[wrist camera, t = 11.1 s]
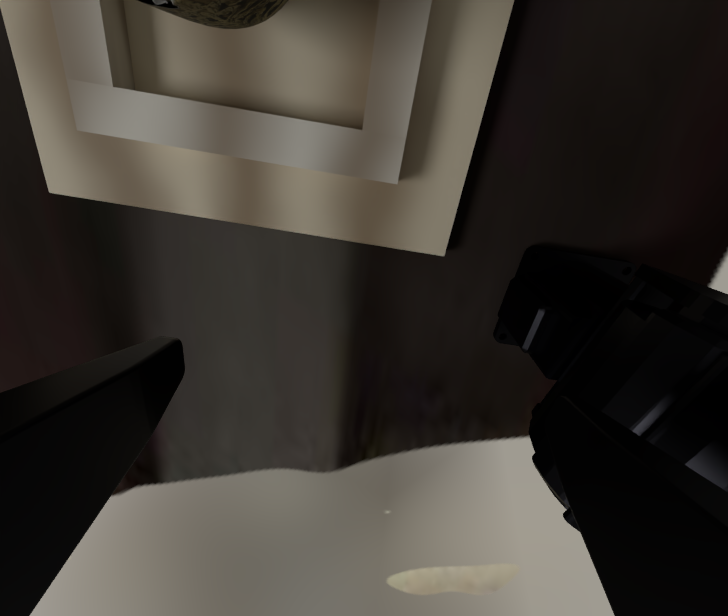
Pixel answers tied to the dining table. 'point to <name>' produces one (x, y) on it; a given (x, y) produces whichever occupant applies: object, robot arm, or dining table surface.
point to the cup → (220, 11)
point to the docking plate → (265, 110)
